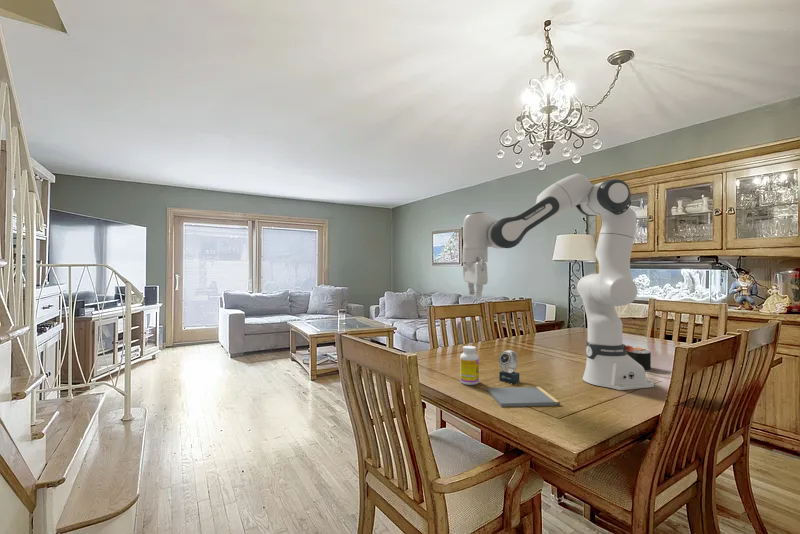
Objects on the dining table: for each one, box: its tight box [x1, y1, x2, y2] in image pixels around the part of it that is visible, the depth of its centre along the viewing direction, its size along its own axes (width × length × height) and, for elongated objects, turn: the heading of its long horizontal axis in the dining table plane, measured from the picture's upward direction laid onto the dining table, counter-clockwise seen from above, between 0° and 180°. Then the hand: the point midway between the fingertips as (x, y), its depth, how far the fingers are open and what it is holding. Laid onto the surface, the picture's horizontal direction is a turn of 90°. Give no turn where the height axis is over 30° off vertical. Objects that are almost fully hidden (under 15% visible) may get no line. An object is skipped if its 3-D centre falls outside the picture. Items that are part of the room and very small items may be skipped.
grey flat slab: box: [487, 386, 561, 408], centre depth 119 cm, size 18×14×1 cm
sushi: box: [626, 346, 652, 371], centre depth 153 cm, size 8×8×8 cm
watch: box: [498, 349, 520, 385], centre depth 136 cm, size 6×8×11 cm
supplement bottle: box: [459, 345, 480, 386], centre depth 134 cm, size 7×7×13 cm
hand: (475, 296), depth 134 cm, fingers open, 8 cm apart
